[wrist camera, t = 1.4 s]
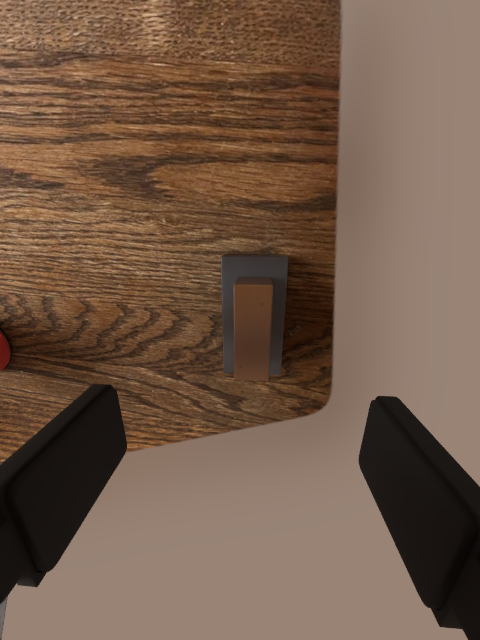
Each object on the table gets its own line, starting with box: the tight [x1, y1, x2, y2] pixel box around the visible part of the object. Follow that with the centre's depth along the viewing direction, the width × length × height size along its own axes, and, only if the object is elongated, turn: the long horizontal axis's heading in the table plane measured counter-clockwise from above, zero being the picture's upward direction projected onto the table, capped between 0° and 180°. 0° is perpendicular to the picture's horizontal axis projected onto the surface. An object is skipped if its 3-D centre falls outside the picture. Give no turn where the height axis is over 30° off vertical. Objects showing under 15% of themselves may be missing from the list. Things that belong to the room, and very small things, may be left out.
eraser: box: [221, 254, 289, 381], centre depth 18 cm, size 10×5×6 cm, turn 0°
